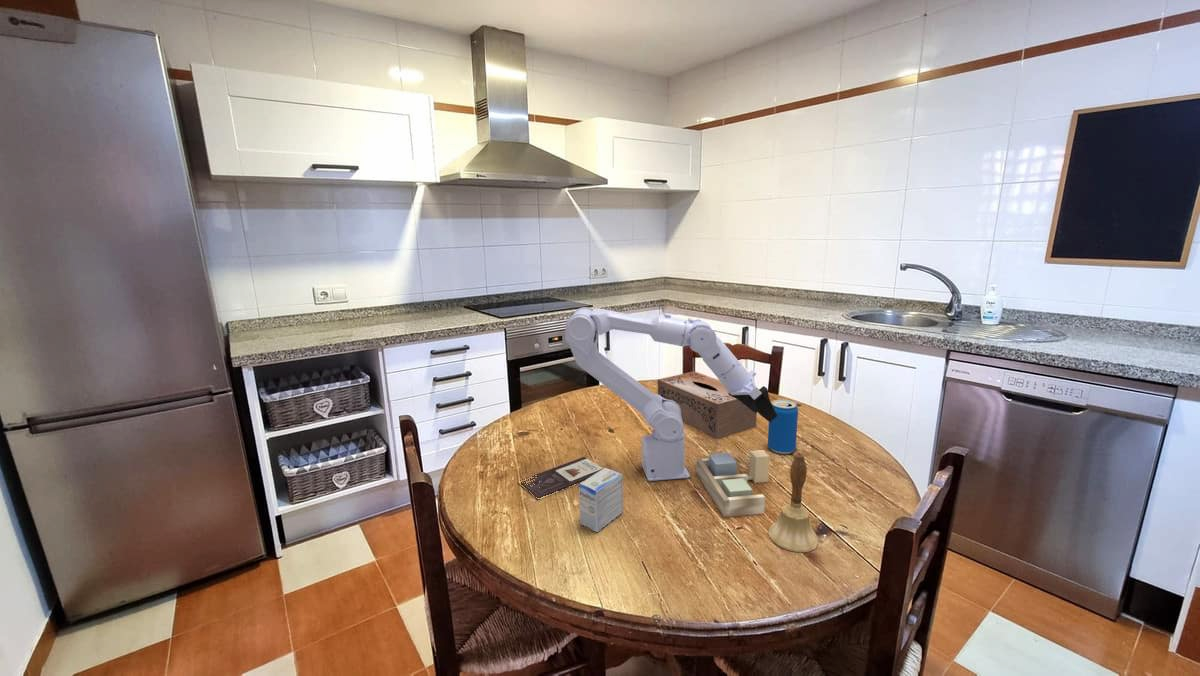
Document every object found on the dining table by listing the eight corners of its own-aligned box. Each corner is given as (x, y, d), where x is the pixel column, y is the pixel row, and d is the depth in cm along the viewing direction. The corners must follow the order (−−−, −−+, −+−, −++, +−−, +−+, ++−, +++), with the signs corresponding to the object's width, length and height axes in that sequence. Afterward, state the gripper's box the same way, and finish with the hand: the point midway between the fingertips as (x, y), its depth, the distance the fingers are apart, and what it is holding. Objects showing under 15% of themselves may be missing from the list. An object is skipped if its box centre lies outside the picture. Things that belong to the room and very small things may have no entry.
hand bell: (825, 535, 83) (832, 452, 80) (809, 559, 77) (815, 471, 74) (778, 517, 89) (783, 439, 85) (760, 539, 83) (764, 456, 79)
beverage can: (798, 456, 112) (801, 409, 110) (769, 454, 114) (771, 407, 111) (792, 444, 119) (795, 399, 116) (765, 443, 120) (768, 398, 117)
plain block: (729, 510, 92) (730, 491, 91) (721, 497, 96) (721, 480, 95) (751, 508, 92) (752, 489, 92) (742, 495, 97) (743, 478, 96)
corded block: (715, 488, 100) (716, 462, 98) (708, 477, 104) (709, 452, 103) (769, 483, 101) (771, 457, 100) (760, 473, 105) (761, 448, 104)
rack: (723, 517, 90) (724, 500, 89) (696, 473, 106) (696, 459, 105) (764, 513, 90) (765, 497, 90) (730, 470, 107) (731, 456, 106)
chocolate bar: (517, 481, 104) (584, 456, 115) (517, 485, 105) (584, 460, 115) (537, 498, 97) (606, 470, 108) (538, 502, 97) (606, 474, 108)
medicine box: (605, 506, 95) (604, 466, 93) (623, 513, 92) (622, 473, 90) (579, 525, 89) (577, 483, 87) (598, 534, 86) (596, 491, 84)
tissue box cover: (657, 410, 145) (657, 379, 143) (694, 401, 152) (694, 371, 150) (716, 440, 123) (717, 404, 121) (756, 427, 130) (757, 393, 128)
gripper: (753, 360, 94) (795, 410, 95) (729, 351, 108) (765, 395, 110) (727, 383, 94) (768, 432, 95) (706, 371, 108) (742, 414, 110)
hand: (765, 414), depth 102 cm, fingers open, 7 cm apart
